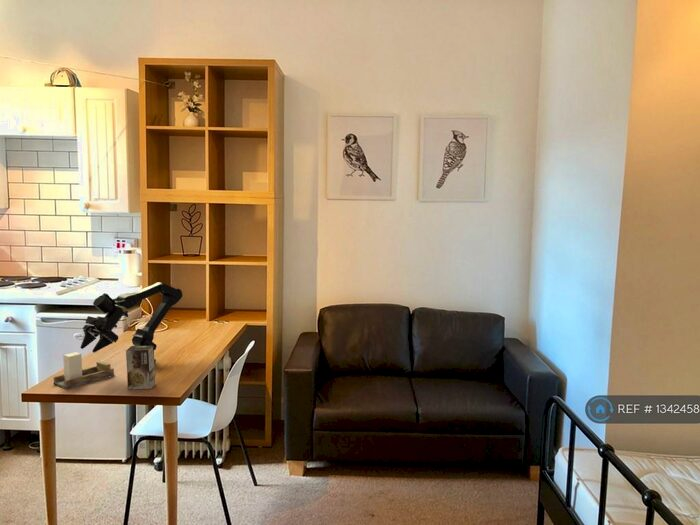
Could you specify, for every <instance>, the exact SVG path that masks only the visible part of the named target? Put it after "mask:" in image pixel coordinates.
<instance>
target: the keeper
mask: <svg viewBox="0 0 700 525" xmlns="http://www.w3.org/2000/svg"><path fill="white" fill-rule="evenodd" d="M62 358H63V374H64V377H65V381H67V380H71V379H75V378H78V377H82V369H83V363H82V361H83V360H82V353H79V352H77V351H75V352H71V353H66V354H63V356H62Z"/></svg>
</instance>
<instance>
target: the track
mask: <svg viewBox="0 0 700 525" xmlns="http://www.w3.org/2000/svg"><path fill="white" fill-rule="evenodd" d="M114 370H115V369H114V368H113V367H112V368H111V363H108V362H105V361H102V360H99V361H96V365H95V366H92V367H87V368H84V369H83V368H82V377H78V378H75V379H71V380H67V381H65V377H64V373H63V374H60V375H56V376H53V384H54V383H55V384H57V385H59V386H58V387H60V386H61V387H60V388H62V387H64V388H63V389H65V388H66V389H65V390H69V389H72V387H73V388H76V387H80V386H82V384H83V385H86V383H87V384H90V383H93V381H94V382H97V381H100V380H99V379H101V380H104V379H107V378H106V377H108V378H110V377H109V376H111V377H114V376H115V371H114ZM113 375H114V376H113ZM103 378H104V379H103ZM96 380H97V381H96ZM89 382H90V383H89ZM55 384H54V385H55ZM57 385H56V386H57ZM79 385H80V386H79ZM75 386H76V387H75ZM68 388H69V389H68Z"/></svg>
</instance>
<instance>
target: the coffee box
mask: <svg viewBox="0 0 700 525" xmlns="http://www.w3.org/2000/svg"><path fill="white" fill-rule="evenodd" d="M154 359H155V350H154V346H134V345H131V346H130V347H128V348H127V349H126V350H125V362H126V375H127V376H126V377H127V379H126V380H127V390H151V389H152V388H153V387H154V386H155V385H156V373H155V372H156V370H155V369H156V368H155V361H154Z"/></svg>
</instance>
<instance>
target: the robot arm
mask: <svg viewBox="0 0 700 525" xmlns="http://www.w3.org/2000/svg"><path fill="white" fill-rule="evenodd" d="M159 293H160V294H161V295H162V297H161V302H160V304H159V305H158V306H157V308H156V310H154V313H153V314H152V315H151V317H150V318H149V320H148V321H147V322H146V324H145V326H144V327H143V328H137V329H136V331H135V332H134V334H133V335H132V339H131V342H132V343H131V344H132V346H154V351H156V349H157V345H158V344H156V343H154V336H155V331H156V330H157V329H158V327H159V326H160V324H161V323H162V321H163V320H164V318H165V317H166V315H167V314H168V312H169V311H170V309H171V308H172V307H173V306H175V305H176V304H178V302H179V301H181V299H182V298H183V290H181V289H180V288H177V287H173V286H170V285H168V284H166V283H164V282H155V283H154V284H152V285H149V286H145V287H144V288H141V289H139V290H136V291H135V292H134V291H132V292H129V293H128V292H127V293H123V294H119V295H117V297H115V298H111V296H110V295H109V294H108V293H103V294H102V295H99V296H98V297H96V298H95V299H94V301H93V302H92V304H93V306H94V307H95V308H96V309H98V310H99V311H100V312H101V313H103V314H105V316H97V317H93V316H90V315H88V316H87V318H86V320H85V322H84V323H85V325H84V326H83V327H82V332H83V334H84V337H83V340H82V341H81V345H80V349H81V350H84V349H86V347H87V346H89V345H90V344H92V343H93V342H94V341H95V340H97V337H99V340H98V341H97V342H96V344H95V345H94V347H93V349H92V352H93V353H94V354H95V353H97V352H98V351H100V350H102V349H103V348H105V347H108V346H109V345H111V344H114V343H117V342H118V340H119V335H117V334H116V333H115V332H114V331H113V329H114V328H115V329H116V328H117V327H118V325H117V324H119V322H120V320H121V319H122V318H123V317H124V318H129V314H128V310H130V309H132V308H134V307H135V306H137V305H139V303H140V302H141V301H143V300H145V299H147V298H150V297H152V296H154V295H156V294H157V295H158V294H159ZM125 309H127V310H125ZM156 361H157V359H155V358H154V362H156Z"/></svg>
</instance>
